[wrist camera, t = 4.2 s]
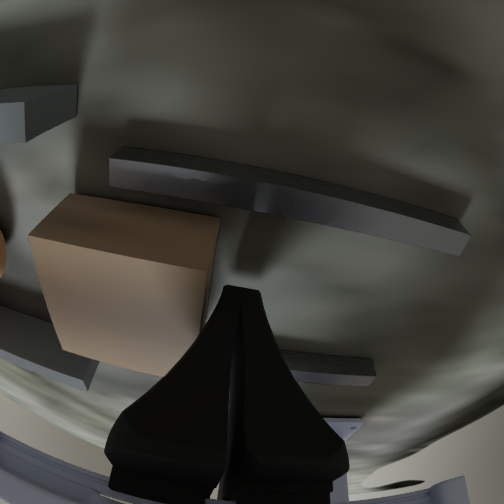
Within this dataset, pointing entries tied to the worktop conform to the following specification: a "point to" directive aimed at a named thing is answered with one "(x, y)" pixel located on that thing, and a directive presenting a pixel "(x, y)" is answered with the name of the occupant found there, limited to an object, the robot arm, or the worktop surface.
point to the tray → (10, 321)
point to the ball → (2, 253)
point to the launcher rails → (293, 206)
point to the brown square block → (125, 279)
